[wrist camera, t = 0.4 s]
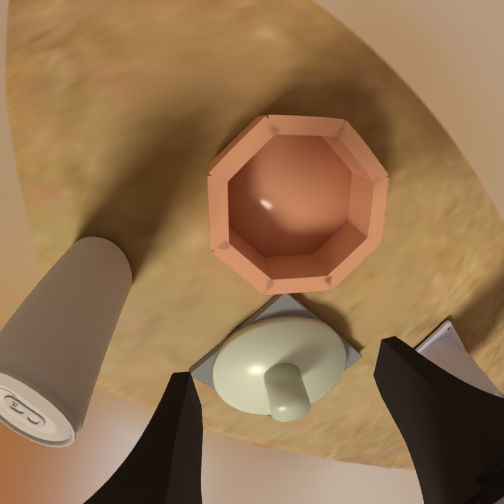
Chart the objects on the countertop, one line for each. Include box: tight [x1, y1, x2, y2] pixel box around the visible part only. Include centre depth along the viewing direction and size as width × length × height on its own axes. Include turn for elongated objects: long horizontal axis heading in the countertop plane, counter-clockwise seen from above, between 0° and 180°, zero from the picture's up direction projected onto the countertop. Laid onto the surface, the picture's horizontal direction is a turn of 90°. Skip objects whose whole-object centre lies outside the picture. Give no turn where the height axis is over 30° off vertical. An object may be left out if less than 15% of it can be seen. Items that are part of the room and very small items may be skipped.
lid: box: [213, 315, 346, 422], centre depth 21 cm, size 10×10×4 cm
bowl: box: [207, 115, 389, 295], centre depth 16 cm, size 9×9×4 cm
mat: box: [189, 293, 362, 417], centre depth 23 cm, size 10×10×1 cm
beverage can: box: [0, 236, 132, 447], centre depth 13 cm, size 5×5×12 cm
